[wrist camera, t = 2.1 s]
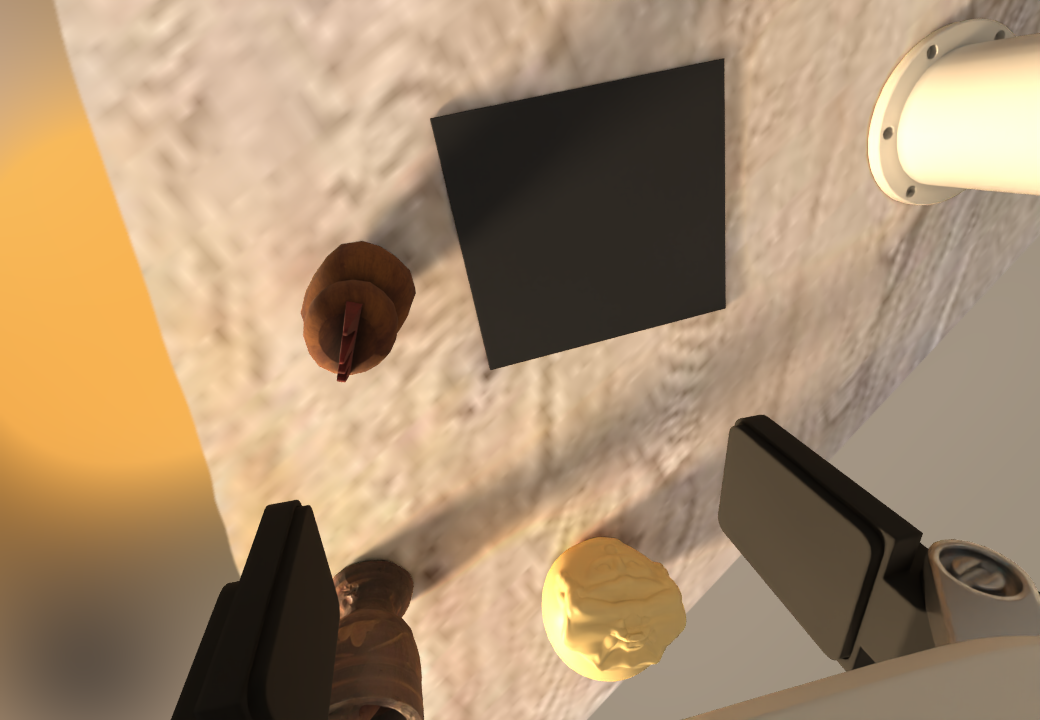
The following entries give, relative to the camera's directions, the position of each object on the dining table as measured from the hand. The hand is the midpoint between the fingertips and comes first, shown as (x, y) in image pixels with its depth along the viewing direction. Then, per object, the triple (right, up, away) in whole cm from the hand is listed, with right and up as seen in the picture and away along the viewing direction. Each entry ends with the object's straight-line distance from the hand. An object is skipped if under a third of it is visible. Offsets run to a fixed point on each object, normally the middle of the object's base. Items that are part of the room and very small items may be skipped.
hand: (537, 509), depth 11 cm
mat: (+5, +13, +25) cm, 29 cm away
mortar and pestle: (-15, -16, +34) cm, 41 cm away
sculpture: (+6, -17, +39) cm, 44 cm away
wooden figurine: (-11, +9, +24) cm, 28 cm away
